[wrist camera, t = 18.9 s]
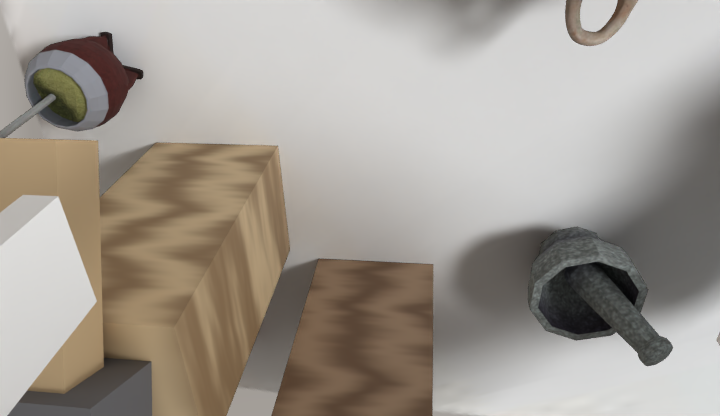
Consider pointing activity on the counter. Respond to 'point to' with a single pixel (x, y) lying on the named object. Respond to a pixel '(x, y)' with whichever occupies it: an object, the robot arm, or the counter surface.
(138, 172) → the oak step
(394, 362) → the walnut post
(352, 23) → the counter surface
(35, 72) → the mate gourd
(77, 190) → the grey and tan block
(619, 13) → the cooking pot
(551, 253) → the mortar and pestle
